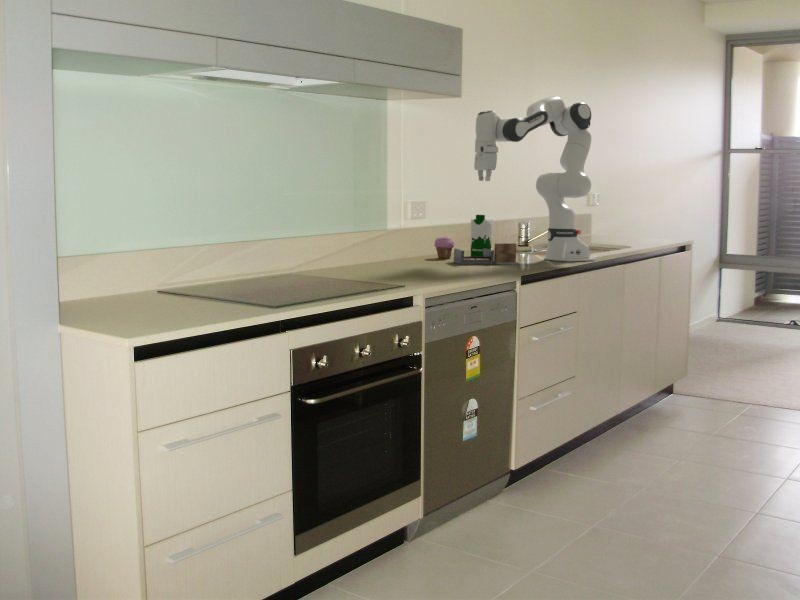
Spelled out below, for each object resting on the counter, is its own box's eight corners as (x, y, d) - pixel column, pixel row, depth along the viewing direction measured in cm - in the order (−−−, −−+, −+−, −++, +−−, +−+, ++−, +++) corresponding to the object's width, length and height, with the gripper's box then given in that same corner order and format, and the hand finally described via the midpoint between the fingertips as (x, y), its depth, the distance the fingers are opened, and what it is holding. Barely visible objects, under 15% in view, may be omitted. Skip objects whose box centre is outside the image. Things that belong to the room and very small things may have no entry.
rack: (485, 262, 385) (485, 248, 384) (493, 264, 374) (494, 250, 373) (453, 262, 382) (454, 248, 381) (461, 265, 371) (461, 250, 370)
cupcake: (447, 259, 392) (447, 237, 391) (430, 258, 397) (430, 236, 395) (457, 258, 399) (457, 236, 398) (440, 257, 404) (441, 235, 403)
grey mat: (512, 262, 386) (512, 260, 386) (519, 264, 377) (519, 262, 377) (490, 262, 384) (490, 260, 384) (497, 264, 375) (497, 263, 375)
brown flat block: (513, 261, 383) (514, 243, 381) (515, 262, 380) (516, 243, 379) (494, 261, 381) (494, 243, 380) (495, 262, 378) (496, 243, 377)
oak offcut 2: (486, 264, 378) (486, 258, 377) (488, 265, 375) (489, 259, 374) (475, 264, 377) (475, 258, 376) (477, 265, 374) (477, 259, 373)
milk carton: (468, 259, 395) (469, 214, 392) (475, 257, 403) (476, 214, 400) (486, 260, 391) (487, 215, 388) (493, 259, 399) (495, 214, 396)
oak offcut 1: (474, 264, 376) (474, 258, 376) (474, 265, 373) (474, 259, 373) (462, 264, 376) (462, 258, 376) (462, 265, 373) (462, 259, 373)
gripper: (471, 149, 391) (470, 180, 393) (485, 148, 371) (484, 181, 373) (484, 149, 392) (483, 180, 394) (499, 148, 372) (498, 181, 374)
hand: (484, 180), depth 384 cm, fingers open, 8 cm apart
